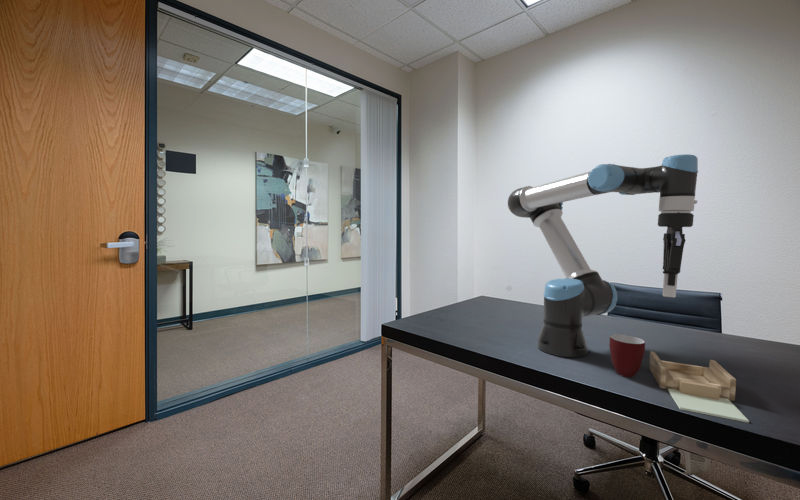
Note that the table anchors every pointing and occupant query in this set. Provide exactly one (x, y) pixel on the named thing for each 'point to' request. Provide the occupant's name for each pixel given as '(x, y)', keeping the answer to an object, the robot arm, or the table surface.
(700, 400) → the lid
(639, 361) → the mug
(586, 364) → the table surface
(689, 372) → the birch box
